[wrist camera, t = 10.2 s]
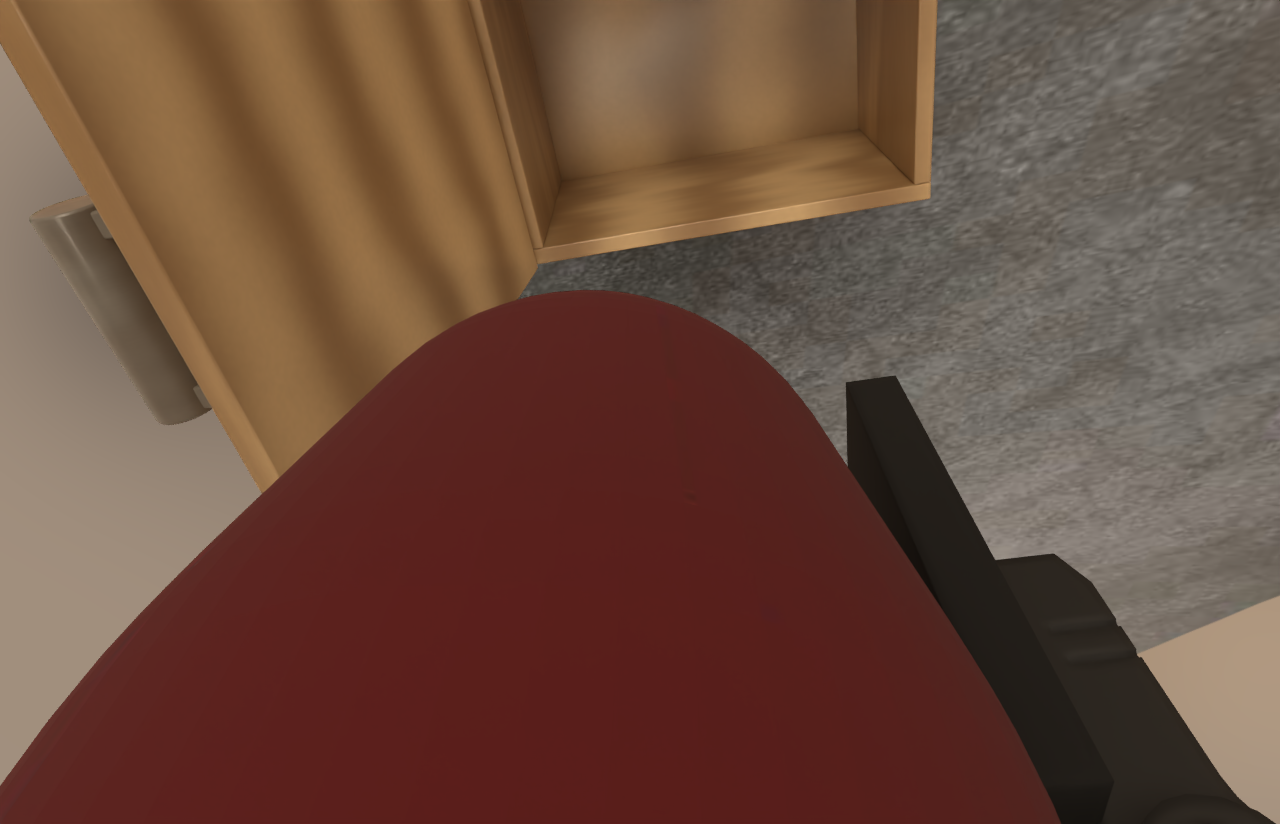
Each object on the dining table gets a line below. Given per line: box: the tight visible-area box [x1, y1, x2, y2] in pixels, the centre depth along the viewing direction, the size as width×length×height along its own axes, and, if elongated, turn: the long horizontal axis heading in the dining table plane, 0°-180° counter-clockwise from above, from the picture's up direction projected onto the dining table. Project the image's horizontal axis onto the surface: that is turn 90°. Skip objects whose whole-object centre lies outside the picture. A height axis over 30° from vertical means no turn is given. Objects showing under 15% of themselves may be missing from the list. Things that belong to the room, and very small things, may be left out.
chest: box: [467, 0, 937, 264], centre depth 38 cm, size 20×15×12 cm
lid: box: [0, 0, 538, 494], centre depth 26 cm, size 21×15×5 cm
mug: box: [0, 290, 1061, 824], centre depth 9 cm, size 10×8×10 cm
